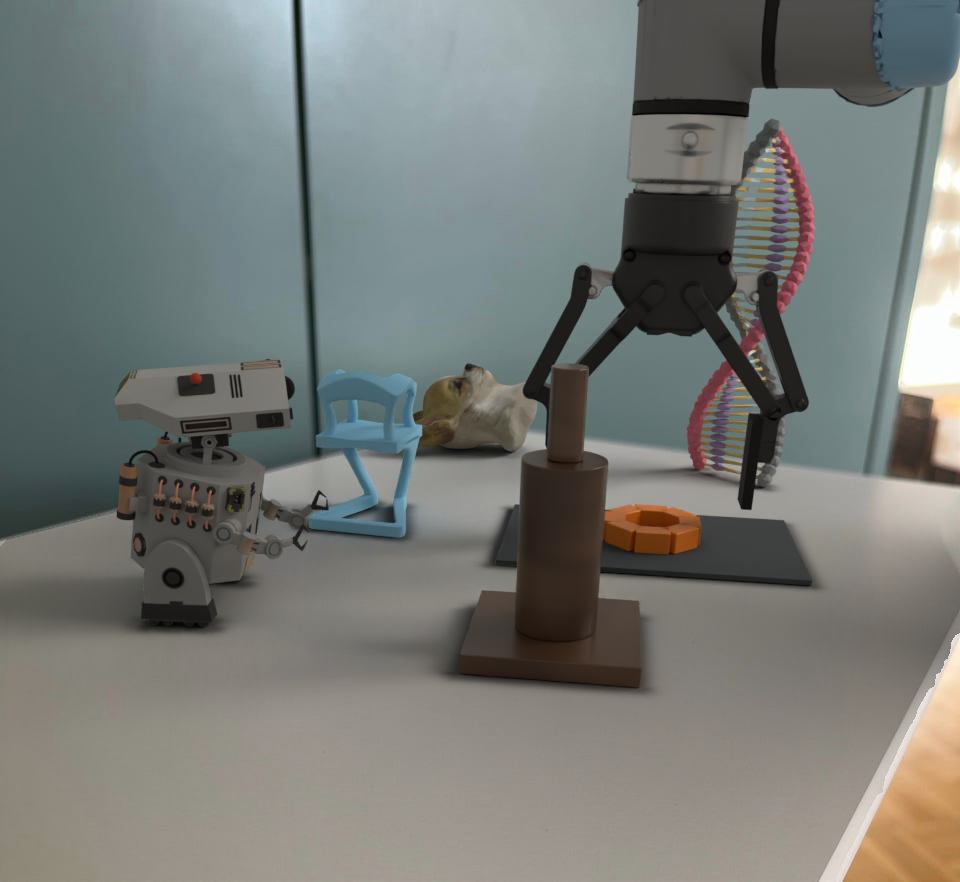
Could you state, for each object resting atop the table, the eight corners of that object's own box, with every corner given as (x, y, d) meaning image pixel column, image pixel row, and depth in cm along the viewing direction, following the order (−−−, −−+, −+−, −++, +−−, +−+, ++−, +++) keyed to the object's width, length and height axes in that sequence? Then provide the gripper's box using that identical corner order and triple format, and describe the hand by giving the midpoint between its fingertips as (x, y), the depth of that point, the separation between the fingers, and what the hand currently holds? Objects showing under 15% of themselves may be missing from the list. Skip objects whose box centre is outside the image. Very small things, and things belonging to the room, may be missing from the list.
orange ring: (695, 527, 82) (697, 507, 81) (701, 557, 75) (703, 536, 75) (603, 521, 83) (605, 502, 82) (601, 550, 76) (603, 530, 75)
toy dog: (536, 370, 96) (378, 373, 98) (537, 462, 100) (384, 463, 102) (544, 354, 106) (400, 357, 108) (545, 438, 109) (405, 439, 111)
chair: (433, 508, 86) (433, 360, 81) (402, 538, 79) (400, 378, 74) (345, 499, 88) (341, 354, 83) (307, 528, 80) (299, 371, 75)
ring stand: (637, 617, 66) (662, 355, 59) (640, 687, 56) (669, 387, 50) (481, 606, 67) (488, 348, 60) (458, 673, 58) (463, 378, 51)
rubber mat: (783, 524, 84) (784, 519, 84) (811, 585, 72) (812, 580, 71) (514, 508, 87) (514, 503, 86) (495, 564, 74) (495, 559, 74)
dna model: (722, 461, 103) (763, 125, 91) (798, 481, 97) (853, 123, 85) (662, 474, 98) (697, 119, 85) (739, 496, 91) (788, 116, 79)
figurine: (306, 633, 62) (294, 379, 56) (117, 625, 62) (84, 373, 56) (331, 579, 71) (323, 353, 64) (164, 573, 71) (140, 348, 65)
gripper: (490, 185, 67) (482, 503, 76) (887, 195, 64) (832, 524, 73) (503, 184, 74) (494, 476, 82) (862, 194, 71) (814, 495, 80)
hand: (653, 499), depth 78 cm, fingers open, 13 cm apart
